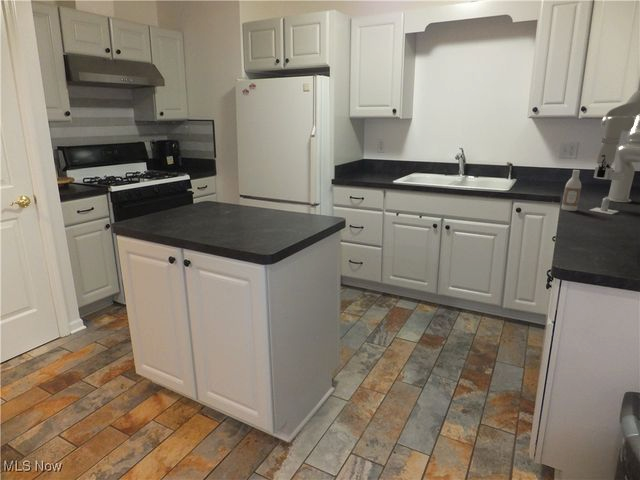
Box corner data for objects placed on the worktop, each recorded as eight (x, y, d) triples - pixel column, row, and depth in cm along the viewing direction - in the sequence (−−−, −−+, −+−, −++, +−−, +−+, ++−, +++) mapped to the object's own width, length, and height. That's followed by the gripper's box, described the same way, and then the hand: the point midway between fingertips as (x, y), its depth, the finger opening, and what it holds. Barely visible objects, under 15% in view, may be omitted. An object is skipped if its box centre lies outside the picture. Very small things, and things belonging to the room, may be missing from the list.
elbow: (593, 177, 224) (595, 167, 222) (597, 177, 228) (600, 166, 226) (619, 180, 215) (621, 169, 214) (623, 180, 219) (626, 169, 217)
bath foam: (560, 210, 217) (568, 170, 211) (561, 207, 223) (568, 168, 217) (576, 211, 214) (584, 171, 208) (576, 209, 219) (584, 170, 214)
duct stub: (596, 208, 223) (599, 196, 222) (618, 211, 216) (621, 199, 214) (589, 210, 217) (591, 198, 215) (611, 214, 210) (614, 201, 208)
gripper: (608, 140, 226) (600, 175, 231) (595, 141, 216) (588, 177, 221) (624, 142, 221) (616, 176, 226) (612, 142, 210) (604, 179, 215)
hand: (602, 176), depth 223 cm, fingers closed on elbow, 6 cm apart
